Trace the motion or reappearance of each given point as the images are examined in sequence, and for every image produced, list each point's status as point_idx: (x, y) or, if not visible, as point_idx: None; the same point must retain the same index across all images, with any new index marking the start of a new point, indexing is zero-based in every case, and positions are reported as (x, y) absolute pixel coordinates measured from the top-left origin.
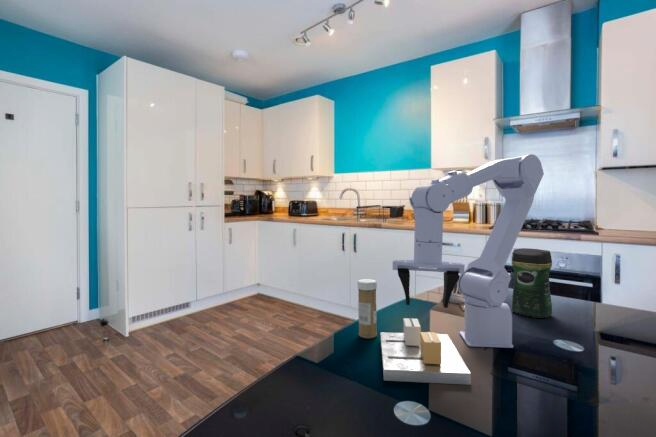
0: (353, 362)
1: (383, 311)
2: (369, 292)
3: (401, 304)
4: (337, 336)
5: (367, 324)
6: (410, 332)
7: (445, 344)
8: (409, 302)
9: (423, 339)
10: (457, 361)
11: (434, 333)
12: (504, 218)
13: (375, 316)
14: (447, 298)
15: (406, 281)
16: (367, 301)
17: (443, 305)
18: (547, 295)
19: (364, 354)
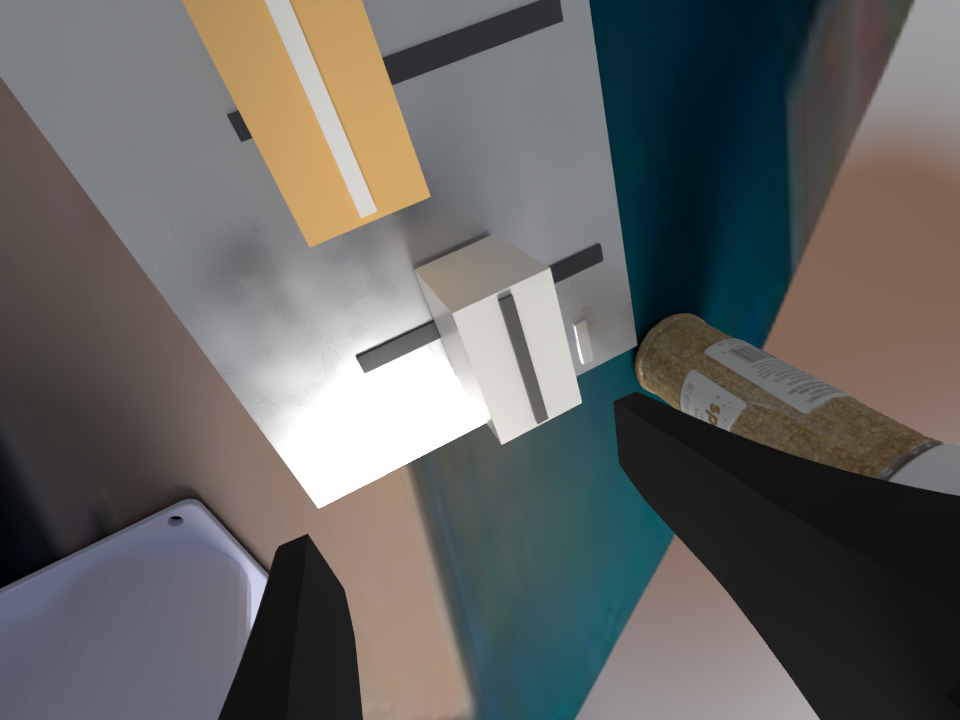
0: (698, 8)
1: (636, 591)
2: (885, 457)
3: (583, 682)
4: (778, 274)
5: (717, 343)
6: (501, 268)
7: (285, 376)
8: (630, 409)
9: (362, 6)
10: (110, 144)
11: (314, 217)
12: None
13: (710, 400)
14: (271, 628)
15: (889, 527)
16: (834, 411)
17: (328, 570)
18: None
19: (659, 137)
